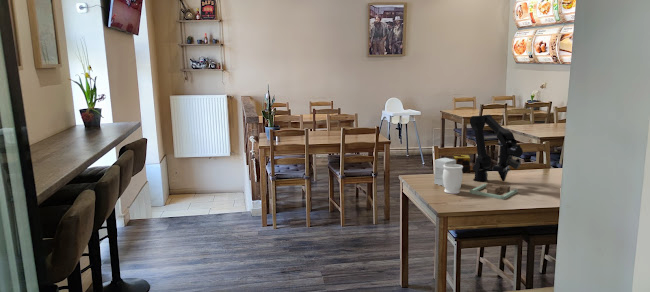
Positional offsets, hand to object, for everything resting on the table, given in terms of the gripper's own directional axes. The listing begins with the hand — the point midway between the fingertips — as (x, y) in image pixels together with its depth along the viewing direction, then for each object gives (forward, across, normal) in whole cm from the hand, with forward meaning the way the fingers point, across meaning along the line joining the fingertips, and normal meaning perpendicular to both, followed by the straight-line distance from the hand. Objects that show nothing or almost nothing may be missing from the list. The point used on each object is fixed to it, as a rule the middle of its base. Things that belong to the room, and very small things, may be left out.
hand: (503, 180), depth 271 cm
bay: (+4, -12, 0) cm, 13 cm away
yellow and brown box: (+4, +23, +37) cm, 44 cm away
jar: (+4, -26, +18) cm, 32 cm away
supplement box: (+4, -14, +29) cm, 33 cm away
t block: (+4, -11, 0) cm, 12 cm away
